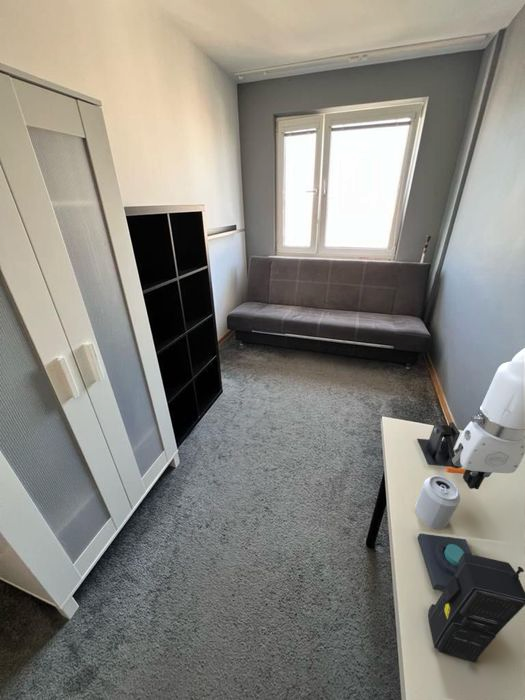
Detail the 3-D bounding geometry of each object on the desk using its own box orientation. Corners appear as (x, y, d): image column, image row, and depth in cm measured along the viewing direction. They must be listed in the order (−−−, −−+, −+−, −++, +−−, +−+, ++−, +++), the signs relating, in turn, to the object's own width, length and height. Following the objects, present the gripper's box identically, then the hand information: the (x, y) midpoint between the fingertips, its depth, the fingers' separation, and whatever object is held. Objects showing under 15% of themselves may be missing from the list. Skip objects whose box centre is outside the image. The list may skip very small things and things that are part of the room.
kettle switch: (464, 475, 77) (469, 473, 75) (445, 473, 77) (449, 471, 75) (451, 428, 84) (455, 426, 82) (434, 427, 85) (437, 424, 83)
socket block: (462, 544, 65) (468, 534, 63) (485, 597, 57) (493, 588, 55) (417, 538, 67) (421, 529, 65) (433, 589, 58) (438, 580, 56)
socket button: (458, 549, 61) (461, 545, 60) (466, 568, 58) (469, 564, 57) (441, 546, 62) (443, 542, 61) (448, 565, 59) (450, 561, 58)
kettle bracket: (459, 469, 83) (472, 441, 77) (427, 466, 84) (437, 438, 78) (445, 443, 91) (456, 416, 85) (416, 441, 93) (425, 414, 87)
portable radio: (428, 650, 50) (475, 588, 38) (420, 608, 56) (459, 542, 43) (477, 665, 49) (543, 605, 37) (464, 620, 54) (518, 554, 42)
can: (447, 510, 72) (462, 480, 66) (447, 537, 67) (463, 507, 61) (415, 496, 76) (426, 467, 70) (412, 521, 70) (424, 492, 64)
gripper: (468, 434, 51) (441, 495, 60) (560, 440, 49) (518, 502, 58) (450, 407, 58) (428, 466, 67) (530, 411, 56) (496, 471, 65)
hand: (470, 483), depth 62 cm, fingers closed
